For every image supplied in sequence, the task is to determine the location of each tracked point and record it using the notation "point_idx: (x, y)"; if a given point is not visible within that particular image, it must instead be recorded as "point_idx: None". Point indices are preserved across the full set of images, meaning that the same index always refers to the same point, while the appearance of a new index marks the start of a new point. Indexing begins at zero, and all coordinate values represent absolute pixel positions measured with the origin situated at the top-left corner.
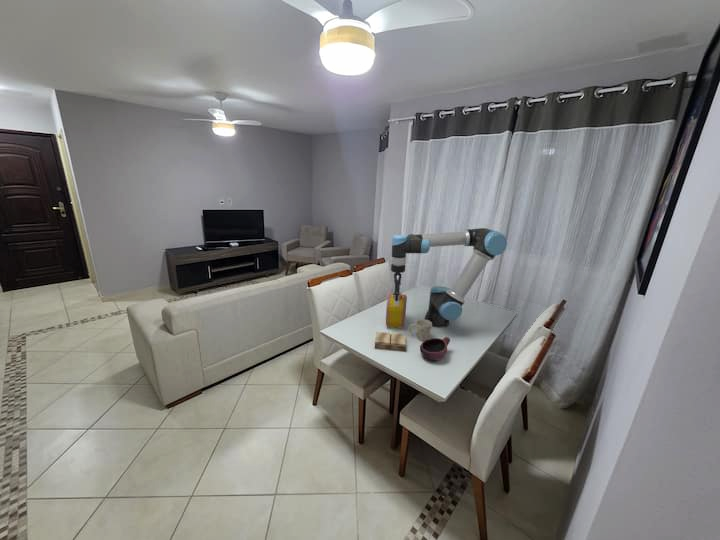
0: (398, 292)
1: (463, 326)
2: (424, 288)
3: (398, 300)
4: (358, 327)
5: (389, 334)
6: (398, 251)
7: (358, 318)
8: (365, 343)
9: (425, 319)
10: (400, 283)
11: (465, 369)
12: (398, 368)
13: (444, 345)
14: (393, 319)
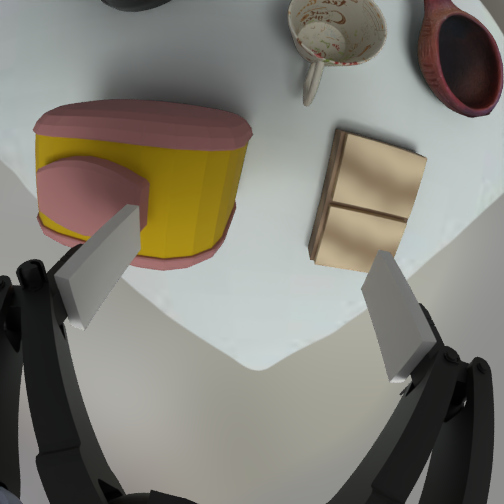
0: (485, 392)
1: None
2: None
3: (407, 294)
4: (227, 299)
5: (343, 211)
6: None
7: (158, 293)
8: (342, 285)
9: (148, 4)
10: (20, 271)
11: (488, 13)
12: (478, 205)
13: (459, 17)
14: (237, 184)
